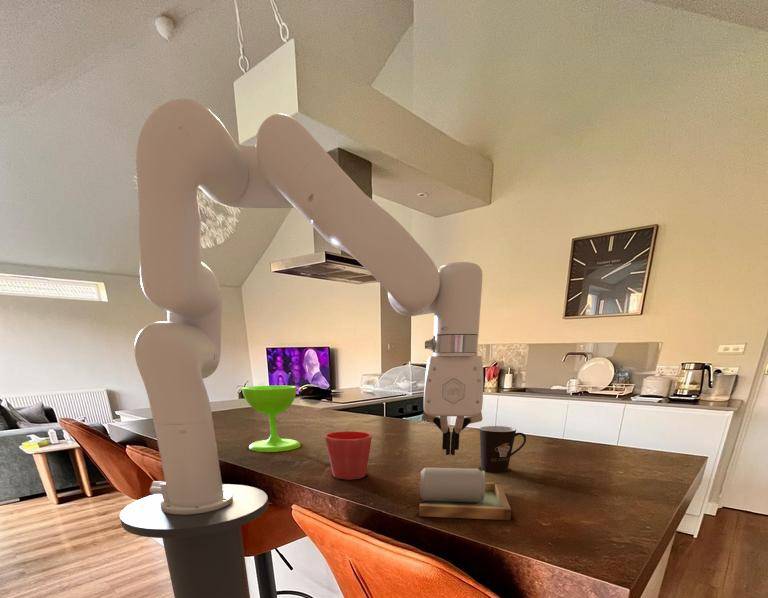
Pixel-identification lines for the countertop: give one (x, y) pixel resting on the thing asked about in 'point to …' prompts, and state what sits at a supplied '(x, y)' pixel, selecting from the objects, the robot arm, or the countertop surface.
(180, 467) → the robot arm
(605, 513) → the countertop surface
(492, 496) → the wooden tray
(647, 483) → the countertop surface
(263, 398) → the wineglass
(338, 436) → the flower pot
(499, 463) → the coffee mug
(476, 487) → the beverage can
